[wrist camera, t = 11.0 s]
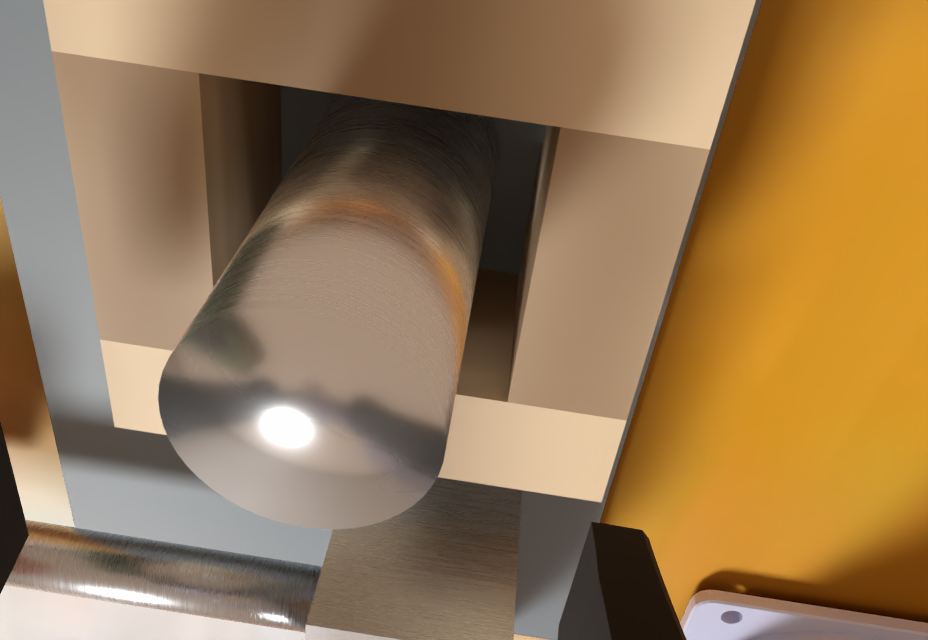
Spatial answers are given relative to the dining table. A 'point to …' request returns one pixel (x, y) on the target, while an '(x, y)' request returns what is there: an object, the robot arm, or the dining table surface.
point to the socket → (428, 85)
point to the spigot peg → (340, 322)
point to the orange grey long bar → (166, 576)
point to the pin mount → (425, 570)
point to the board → (152, 455)
